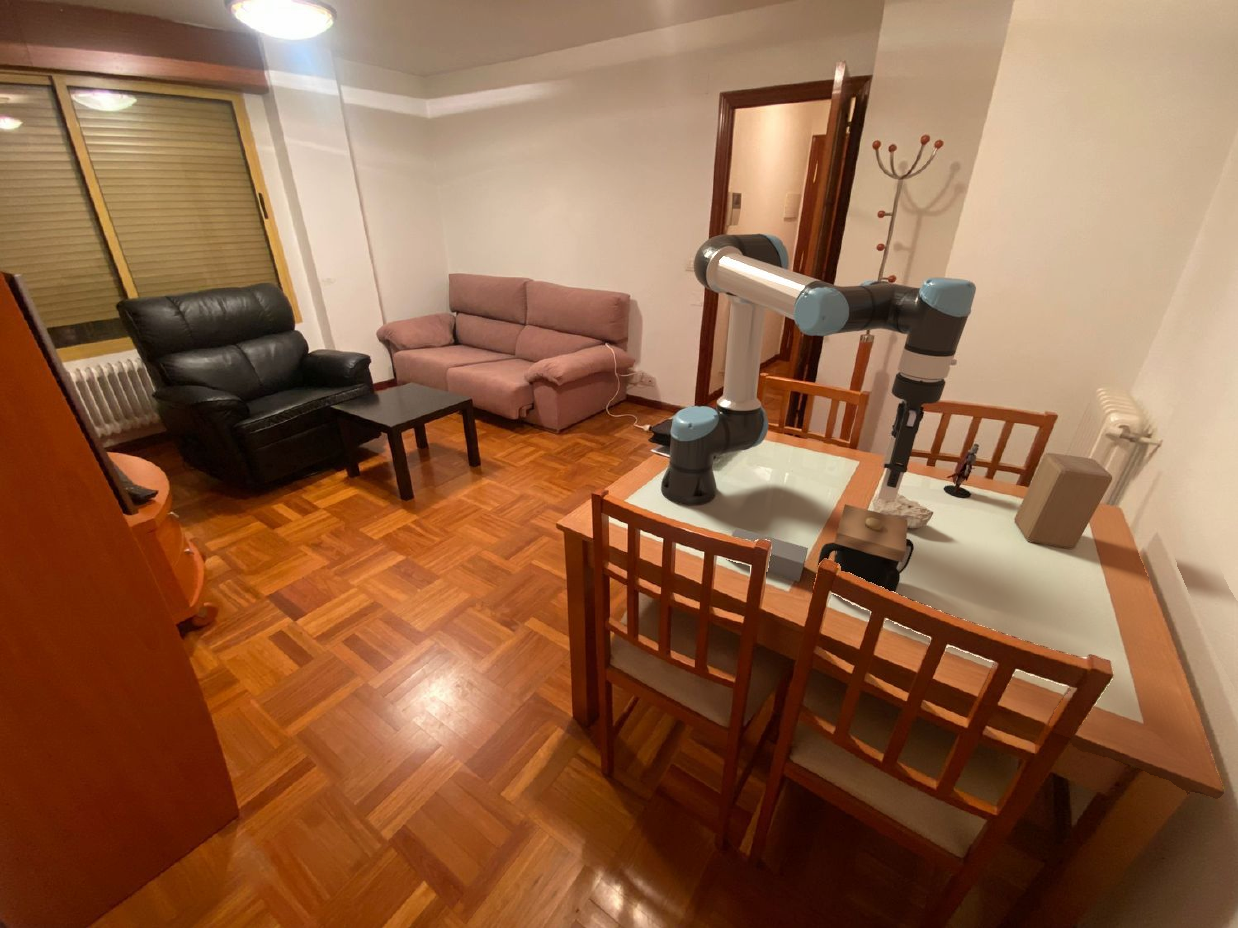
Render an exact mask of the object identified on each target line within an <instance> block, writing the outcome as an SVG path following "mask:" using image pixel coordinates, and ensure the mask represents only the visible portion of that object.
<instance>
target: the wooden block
mask: <svg viewBox="0 0 1238 928" xmlns="http://www.w3.org/2000/svg"><path fill="white" fill-rule="evenodd" d="M1112 481H1113V475H1112V474H1110V472H1108V471H1107V470H1106V469H1105V468H1104V467H1103V466H1102V465H1101V464H1100V463H1099V462H1097V460H1095V459H1094V458H1092V457H1083V456H1076V455H1070V454H1069V455H1067V454H1061V453H1054V452H1046V453H1045V454H1044V455H1043V456H1042V458H1041V460H1040V463H1039V465H1038V467H1037V469H1036V471H1035V474H1034V476H1033V478H1032V479H1031V482H1030V484H1029V486H1028V489H1027V490H1026V493H1025V495H1024V497H1023V499H1022V501H1021V503H1020V506H1019V508H1018V510H1017V512H1016V514H1015V516H1014V524H1016V527H1017V528H1018V529H1019V531H1020V533H1021V534H1022V536H1023V537H1024V539H1025V541H1028V542H1032V543H1037V544H1042V545H1047V546H1054V547H1058V548H1065V549H1070V550H1071V549H1075V548H1076V547H1077V545H1078V543H1079V541H1080V539H1082V538H1081V537H1082V536H1083V534H1084V532H1085V530H1086V528H1087V526H1088V524H1089V523H1090V521H1091V520H1092V517H1093V516H1094V514H1095V512H1096V510H1097V508H1098V507H1099V505H1100V503H1101V501H1102V500H1103V498H1104V496H1105V494H1106V492H1107V490H1108V489H1109V487H1110V484H1111V483H1112Z"/></svg>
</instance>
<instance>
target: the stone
mask: <svg viewBox="0 0 1238 928" xmlns="http://www.w3.org/2000/svg"><path fill="white" fill-rule="evenodd" d="M878 495H879V493H877V494H875V496H874V497H873V498H872V500H871V502H872V506H873V511H874V512H878V513H882V514H886V515H890V516H894V517H898V518H902V519H906V520H908V522H907V528H909V529H916V528H920V527H922V526H925V525H927V524H928V522H929V521H930V520H931V519H932V516H933V515H934V511H933V510H930V509H928V508H927V507H926V506H923V505H921V504H920V503H918V501H916V500H915V501H914V500H910V499H908V498H907V497H906V496H905V495H903V494H900V493H897V496H896V499H895V502H894V503H893V502H889V501H885V500H881V499H878Z"/></svg>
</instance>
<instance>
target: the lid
mask: <svg viewBox="0 0 1238 928" xmlns="http://www.w3.org/2000/svg"><path fill="white" fill-rule="evenodd" d="M907 522H908V520H906V519H902V518H898V517H894V516H890V515H886V514H882V513H878V512H874V510H870V509H866V508H863V507H857V506H854V505H849V504H845V503H844V506H843V510H842V514H841V516H840V521H839V525H838V528H837V532H836V536H835V540H834V542H835V544H839V545H842V546H846V547H849V548H853V549H856V550H860V551H864V552H867V553H871V554H874V555H878V556H881V557H885V558H888V559H892V560H895V561H899V562H902V561H903V559H904V556H905V553H906V541H907V539H908V538H907V537H908V527H907Z"/></svg>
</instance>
